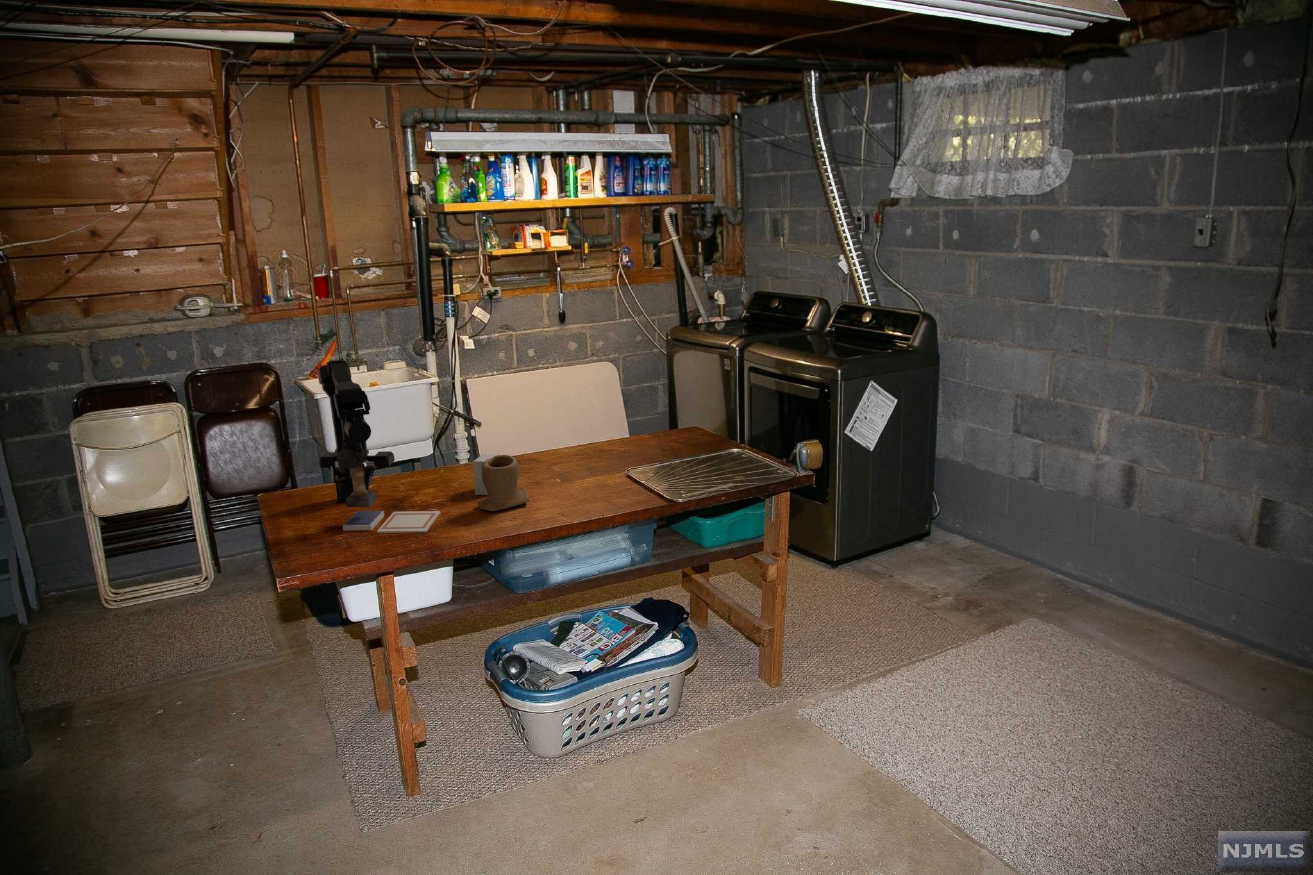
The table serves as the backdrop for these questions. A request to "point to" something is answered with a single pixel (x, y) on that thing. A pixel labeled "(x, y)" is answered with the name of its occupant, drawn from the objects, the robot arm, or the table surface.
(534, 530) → the table surface
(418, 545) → the table surface
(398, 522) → the board
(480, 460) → the small box
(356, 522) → the ink pad
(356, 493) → the stamp
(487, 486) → the stone cup
